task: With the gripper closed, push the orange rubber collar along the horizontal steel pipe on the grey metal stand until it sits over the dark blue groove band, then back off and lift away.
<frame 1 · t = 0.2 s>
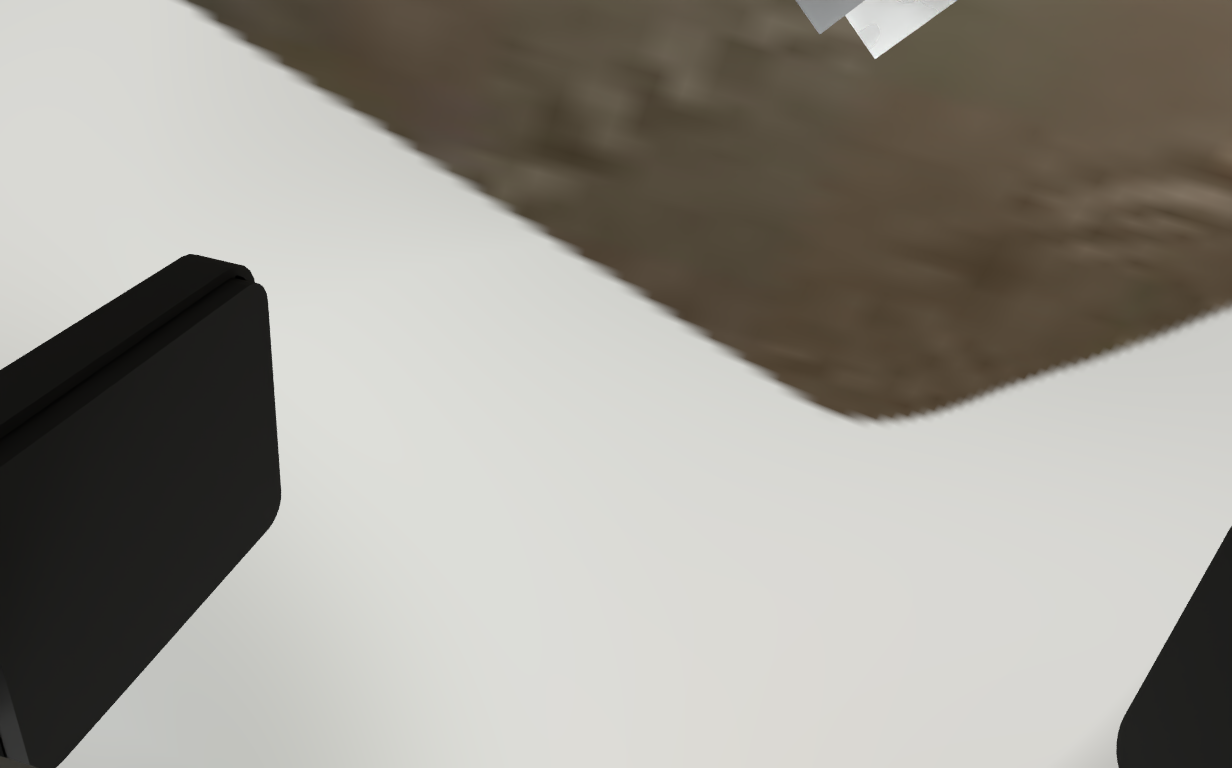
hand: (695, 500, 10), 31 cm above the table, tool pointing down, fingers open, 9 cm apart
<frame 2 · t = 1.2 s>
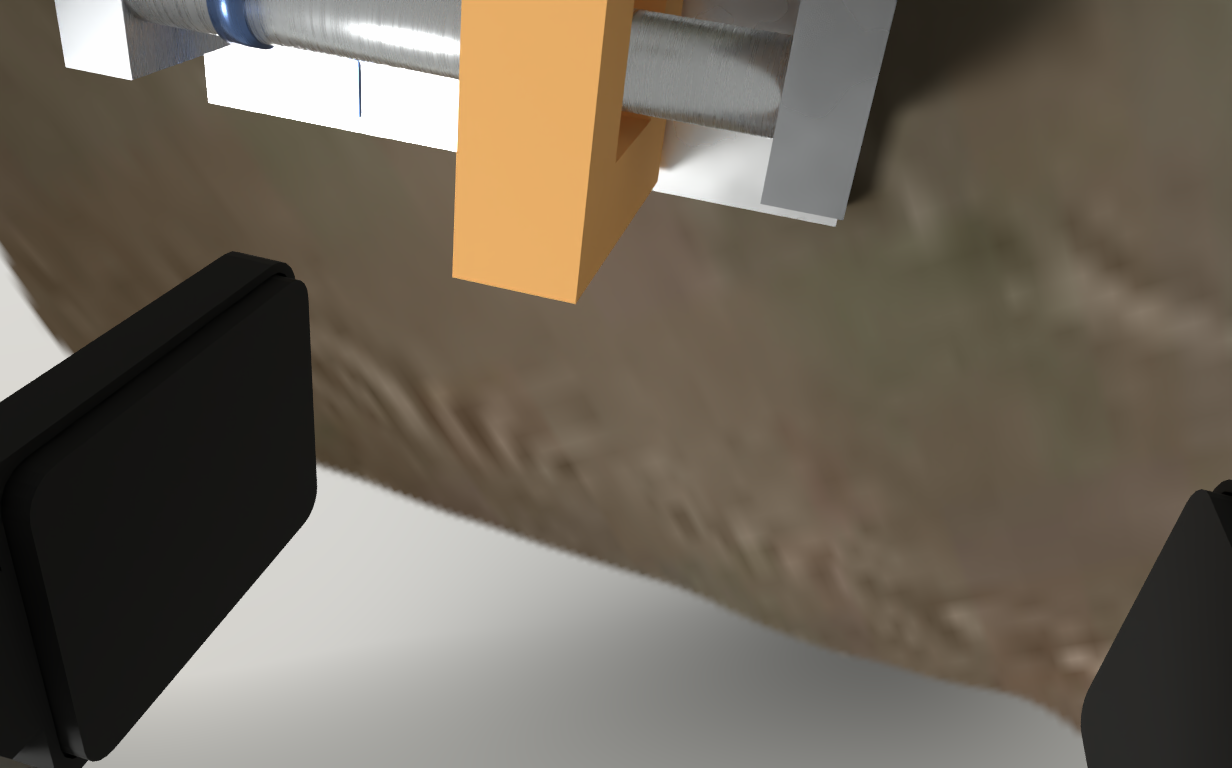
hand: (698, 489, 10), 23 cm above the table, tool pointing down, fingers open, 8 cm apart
collar: (584, 52, 25), point 6 cm above the table, slide at 0.0 cm
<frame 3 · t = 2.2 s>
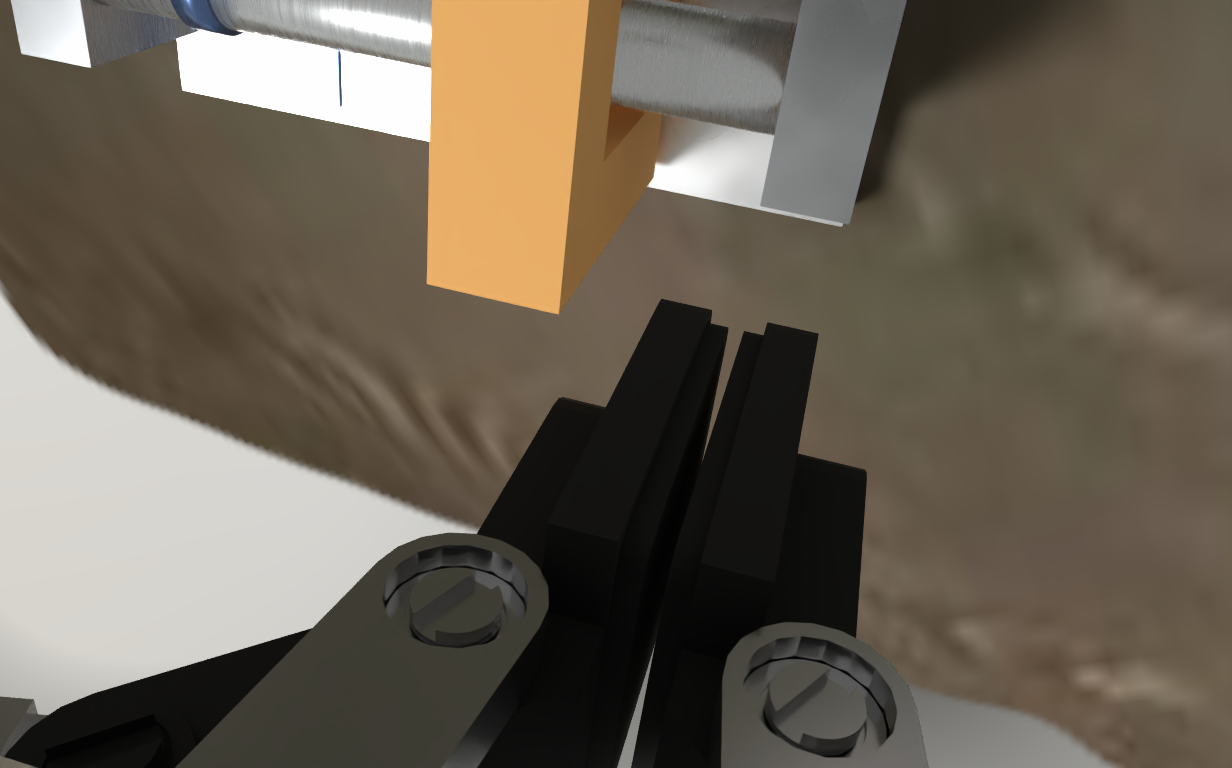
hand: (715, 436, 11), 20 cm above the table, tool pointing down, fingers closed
collar: (572, 40, 23), point 6 cm above the table, slide at 0.0 cm
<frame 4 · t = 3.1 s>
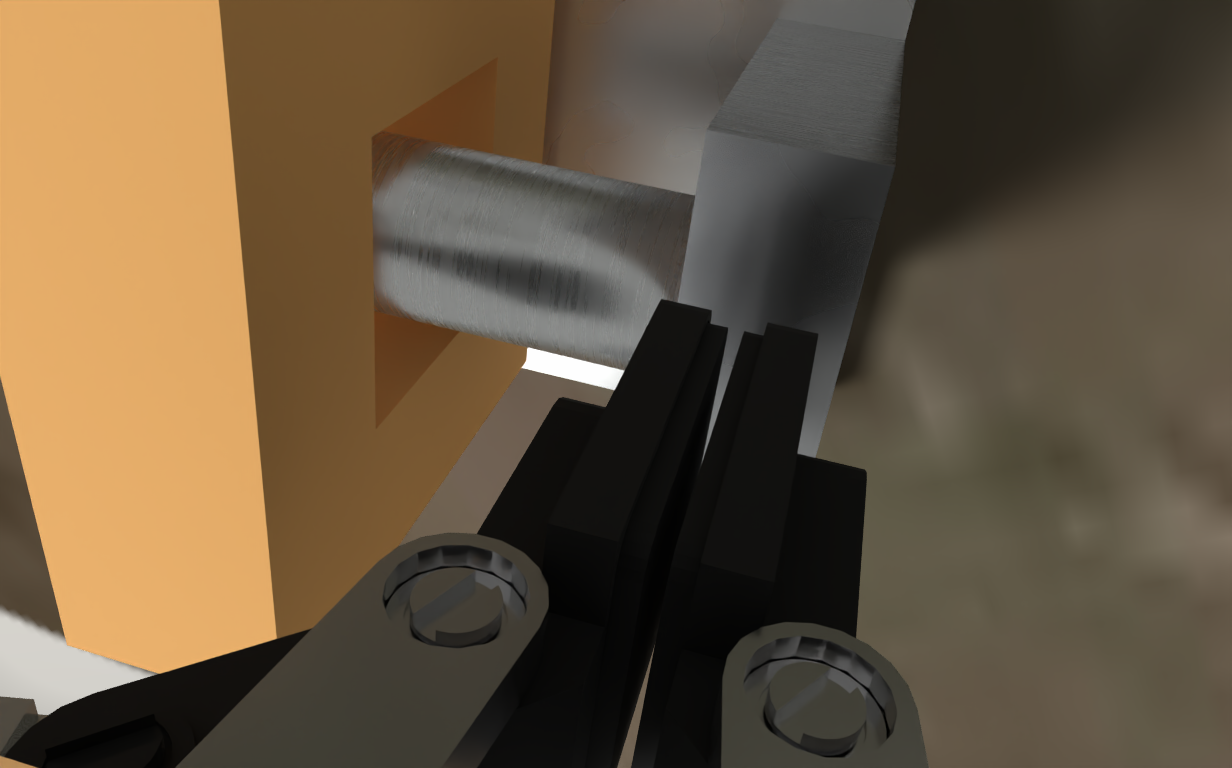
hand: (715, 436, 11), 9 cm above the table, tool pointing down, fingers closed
collar: (337, 212, 14), point 6 cm above the table, slide at 0.0 cm
pipe stand: (334, 59, 20), on the table
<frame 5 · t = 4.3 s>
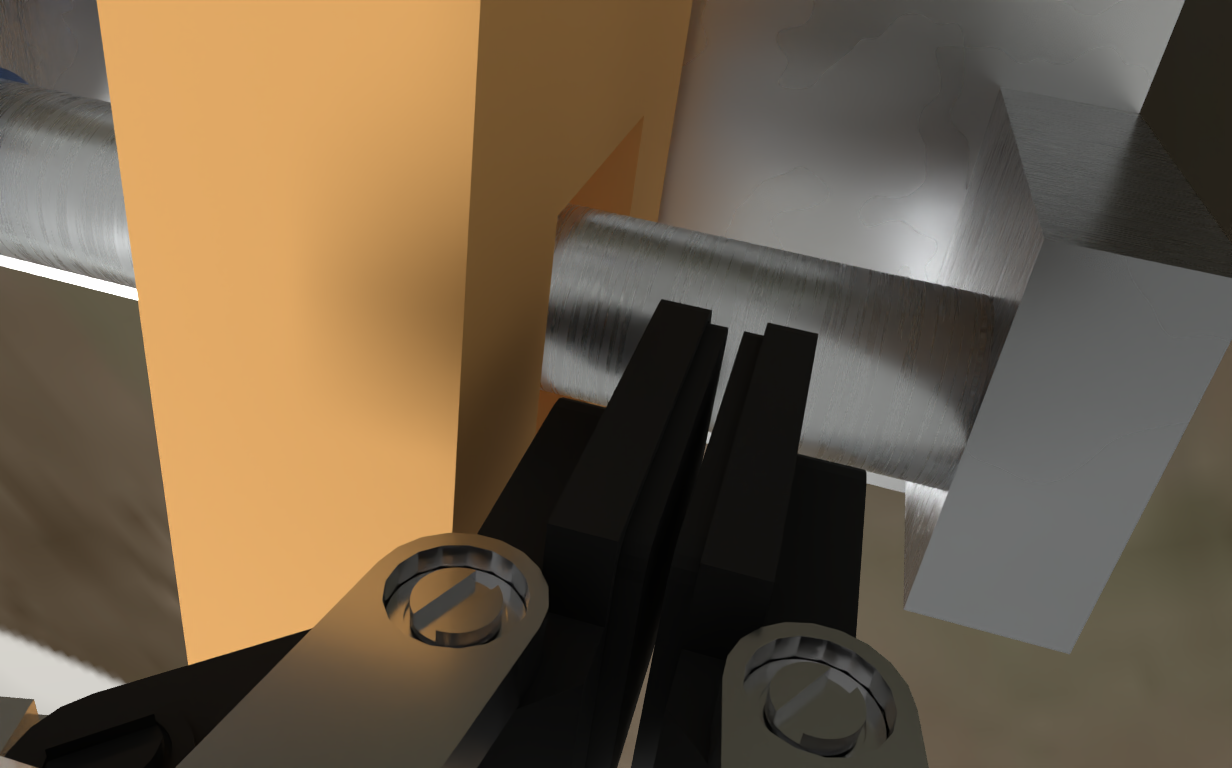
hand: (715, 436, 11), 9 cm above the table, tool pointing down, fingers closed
collar: (477, 279, 13), point 7 cm above the table, slide at 1.2 cm, touching gripper
pipe stand: (488, 113, 19), on the table
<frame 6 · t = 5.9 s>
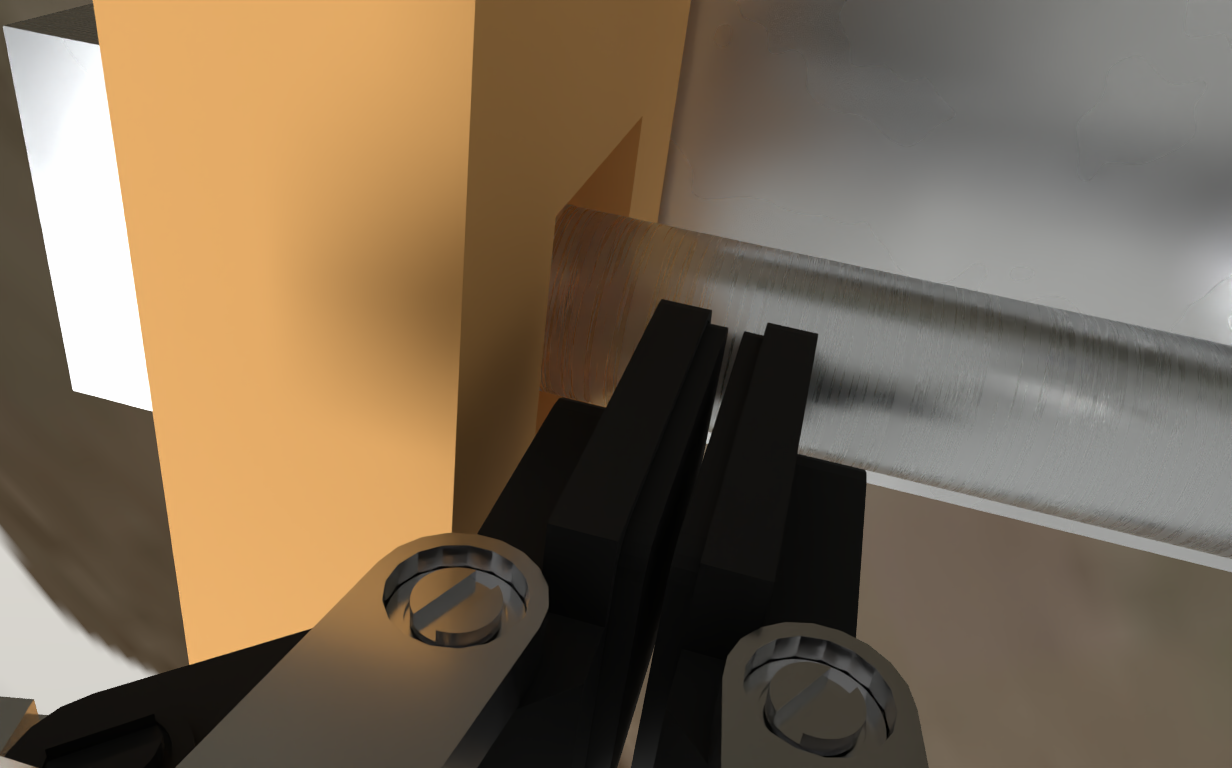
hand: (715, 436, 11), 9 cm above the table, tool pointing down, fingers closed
collar: (477, 280, 13), point 7 cm above the table, slide at 8.5 cm, touching gripper
pipe stand: (879, 194, 18), on the table
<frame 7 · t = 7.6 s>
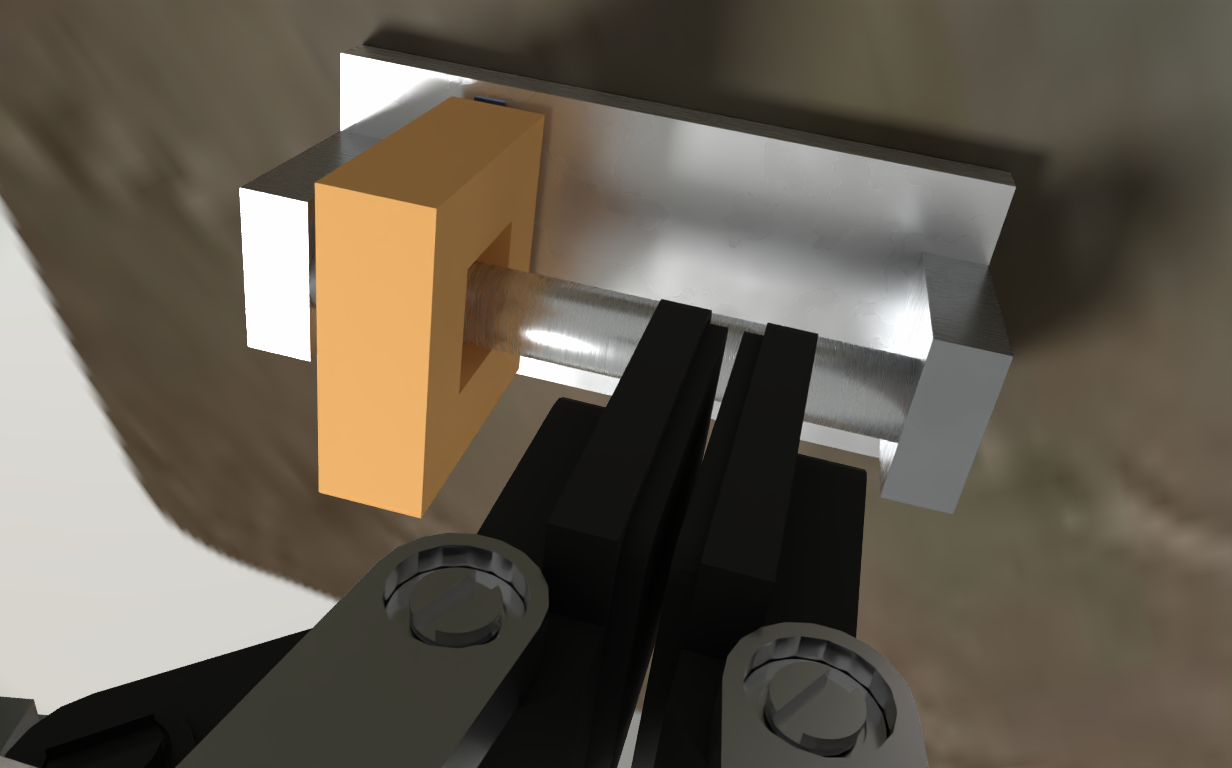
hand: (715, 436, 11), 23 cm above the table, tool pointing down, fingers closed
collar: (437, 294, 29), point 6 cm above the table, slide at 8.6 cm
pipe stand: (648, 251, 34), on the table
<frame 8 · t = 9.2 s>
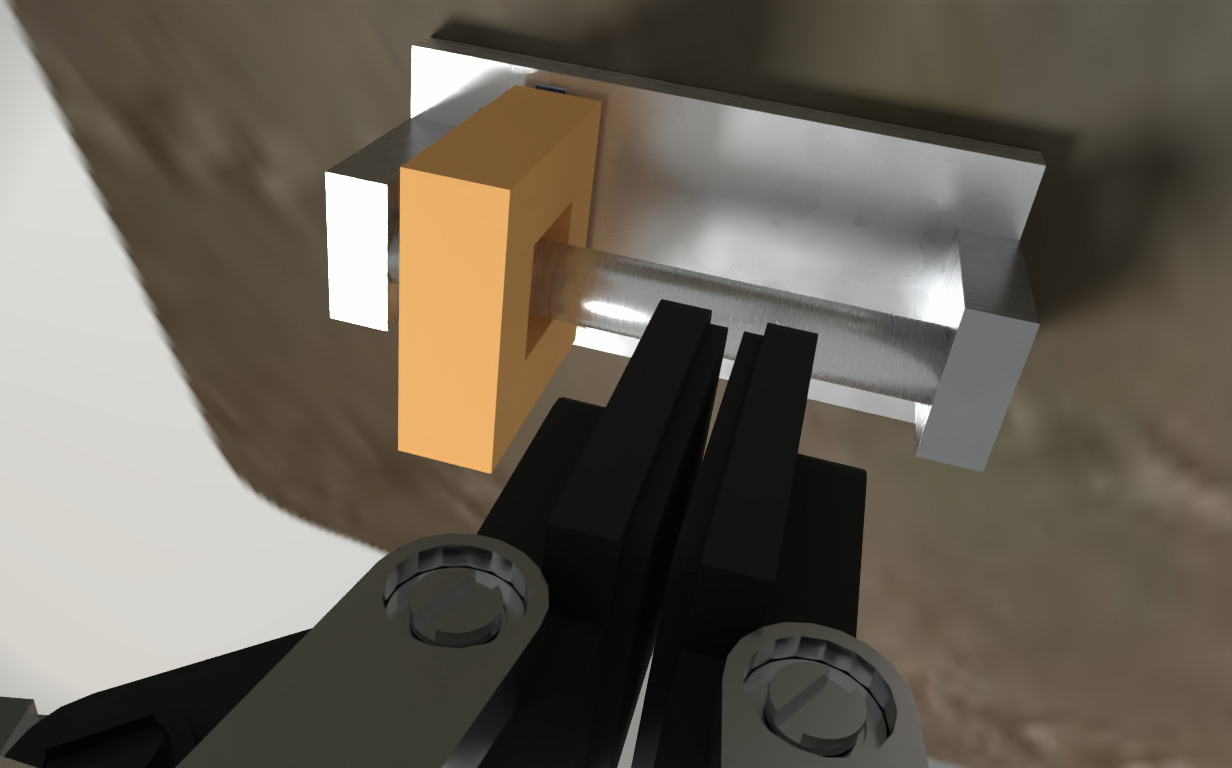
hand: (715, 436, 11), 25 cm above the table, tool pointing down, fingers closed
collar: (503, 269, 32), point 6 cm above the table, slide at 8.6 cm
pipe stand: (697, 229, 37), on the table
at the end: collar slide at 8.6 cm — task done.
